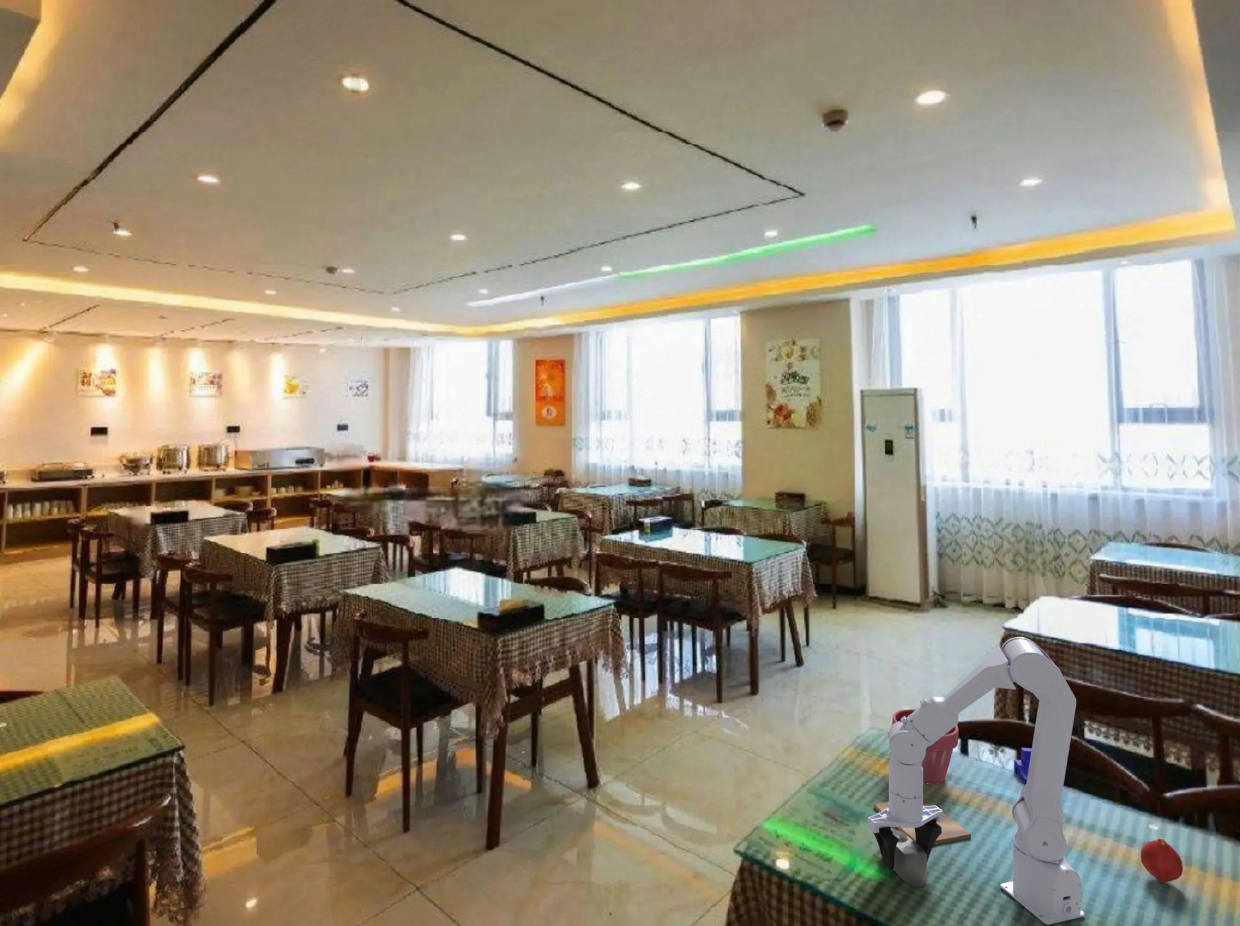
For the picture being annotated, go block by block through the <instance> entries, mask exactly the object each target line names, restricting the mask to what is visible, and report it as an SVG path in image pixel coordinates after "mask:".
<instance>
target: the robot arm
mask: <svg viewBox="0 0 1240 926" xmlns="http://www.w3.org/2000/svg"><path fill="white" fill-rule="evenodd" d="M1014 683H1016V684H1017V685H1018V686H1020V687H1022V688H1023V689H1025V690H1027V691H1028V692H1030V693H1032V694H1033V695H1034V696H1035V697H1036V698H1037V700H1039V701H1038V707H1037V714H1036V720H1035V727H1034V733H1033V739H1032V747H1031V749H1032V751H1031V757H1030V764H1029V770H1028V777H1027V783H1026V785H1025V784H1024V786H1022V787H1021V791H1020V795H1019V797H1018V798H1017V800H1015V801H1014V803H1013V805H1012V808H1011V815H1012V818H1013V820H1014V821H1015V824H1016V825H1017V828H1018V829H1017V831H1016V832H1015V834H1014V835H1013V838H1012V839H1013V840H1012V841H1013V843H1012V844H1013V848H1012V850H1013V851H1012V852H1013V853H1012V881H1008V882H1003V883H1000V888H1001V889H1002V890H1003V891H1004V892H1006V893H1007V894H1008V895H1009V896H1010V897H1012V898H1013V899H1014V900H1016V901H1017V902H1018V903H1019V904H1020V905H1022V906H1023V907H1024V908H1025V909H1026V910H1027V911H1029V912H1030V913H1031V914H1033V916H1035V917H1036V918H1037V919H1039V921H1041V922H1042V923H1044V924H1045V925H1047V926H1048V925H1052V924H1058V923H1061V922H1066V921H1071V920H1075V919H1078V918H1079V919H1080V918H1082V917H1085V913H1084V911H1083V910H1081V906H1082V904H1081V903H1082V902H1081V900H1082V880H1081V877H1080V875H1079V873H1078V872H1077V871H1076V870H1075V869H1074V868H1073V867H1072V866H1071V865H1070V863H1069V862H1068V861H1067V860H1066V857H1065V856H1066V855H1065V854H1066V853H1067V848H1068V843H1067V840H1066V837H1065V834H1064V816H1063V815H1064V814H1063V809H1062V803H1061V801H1062V795H1063V790H1064V789H1063V788H1064V783H1065V778H1066V777H1065V776H1066V771H1067V764H1068V757H1069V751H1070V745H1071V740H1072V739H1071V738H1072V734H1073V726H1074V721H1075V720H1074V719H1075V713H1076V707H1077V698H1076V696H1075V695H1074V693H1073V691H1072V690H1071V688H1070V686H1069V684H1068V682H1067V681H1066V679H1065V678H1064V675H1063V674H1062V671H1061V670H1060V668H1059V667H1058V666H1057V665H1056V664H1055V662H1054V661H1053V660H1052V659H1051V658H1050V656H1049V655H1048V654H1047V652H1045V650H1044V649H1042V648H1041V647H1040V646H1039V645H1038V644H1037V643H1036V642H1034V641H1033V640H1031V639H1029V638H1028V637H1027V638H1026V637H1021V636H1017V637H1011V638H1009V639H1007V640H1006V641H1005V642H1004V643H1002V646H1001V647H1000V646H999V647H996V648H995V649H993V650H992V651H991V652H990V653H989V654H988V655H987V656H986V657H985V659H984V660H983V661H981V662H980V664H978V665H977V666H976V667H975V668H974V669H973V670H972V671H970V672H969V674H967V675H966V676H965V677H964V678H963V679H962V680H961V681H960V682H959V683H958V684H956V685H955V686H954V687H953V688H952V689H951V690H950V691H949V692H948V693H947V694H945V695H944V696H933V695H932V697H930V698H929V699H927V698H926V697H924V698H923V699H922V700H920V701H919V703H920V704H919V705H920V706H919V707H918V708H917V710H915V711H914V712H913V713H912V714H910V715H909V716H908V717H907V718H906V717H905V716H904V717H903V718H901V722H900V721H898V722H896V723H894V724H893V725H892V724H891V726H890V728H889V730H888V731H887V736H888V743H889V744H888V745H889V749H890V750H889V751H890V752H889V762H888V802H889V803H888V808H887V809H885V810H883V811H881V812H877V813H875V814H874V815H870V816H868V817H867V827H868V829H869V830H870V831H872V833H873V836H874V837H875V841H876V842H877V844H878V848H879V851H880V852H879V853H880V855H881V859H882V864H883V865H885V866H884V867H886V868H887V869H888V870H890V871H894V870H893V868H894V857H895V849H896V845H897V843H898V840H899V839H898V838H897V837H895V836H894V835H893V831H891V830H892V828H896V827H905V828H915V835H916V844H917V845H918V846H919V847H921V848H922V849H923V850H924V851H925V852H926V854H927V863H928V861H929V859H930V855H931V851H932V849H933V846H935V845H934V843H935V841H936V839H937V838H938V837H939V835H940V834H941V833H942V828H941V826H940V825H938V824H937V823H936V822H937V821H938V822H941V821H943V813H944V812H943V809H941V808H940V807H938V806H937V805H934V806H923V798H924V783H923V768H922V760H923V759H924V757H925V754H926V748H927V747H928V746H931V745H932V744H933V743H935V742H936V741H937V740H939V739H940V738H941V737H942V736H944V735H945V734H946V733H947V732H949V731H950V730H951V729H952V728H954V727H955V726H956V725H957V726H958V725H959V714H960V713H961V712H963V711H964V710H966V709H967V708H968V707H970V706H971V705H973V704H974V703H976V702H977V701H978V700H979V699H981V698H983V697H984V696H985V695H987V694H988V693H989V692H991V691H993V690H994V689H1005V690H1006V689H1007V690H1017V688H1016V686H1015V684H1014Z"/></svg>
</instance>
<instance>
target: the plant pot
mask: <svg viewBox="0 0 1240 926" xmlns="http://www.w3.org/2000/svg"><path fill="white" fill-rule="evenodd" d="M917 709H918V708H917ZM917 709H916V708H915V709H914V708H913V709H911V708H908V709H901V710H897V711H895V712H894V714H893V715H892V719H891V720H892V722H891V726H892V725H893V724H894V723H896V722H898V721H900V722H901V718H903V717H904V716H905V717H906V718H907V717H908V716H909V715H910V714H912V713H913V712H914V711H915V710H917ZM958 745H959V727H958V724H957V725H956V726H955V727H954V728H952V729H951V730H950V731H949V732H947V733H946V734H945V735H944V736H942V737H941V738H940V739H939V740H937V741H936V742H935V743H933V744H932V745H931V746H928V747H927V748H926V754H925V757H924V759H923V760H922V768H923V784H925V783H928V784H927V785H938V784H937V783H939V784H941V782H942V783H943V782H945V780H946V777H947V773H948V770H949V766H950V763H951V758H952V755H953V750H954V749H955V748H957V746H958Z"/></svg>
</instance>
